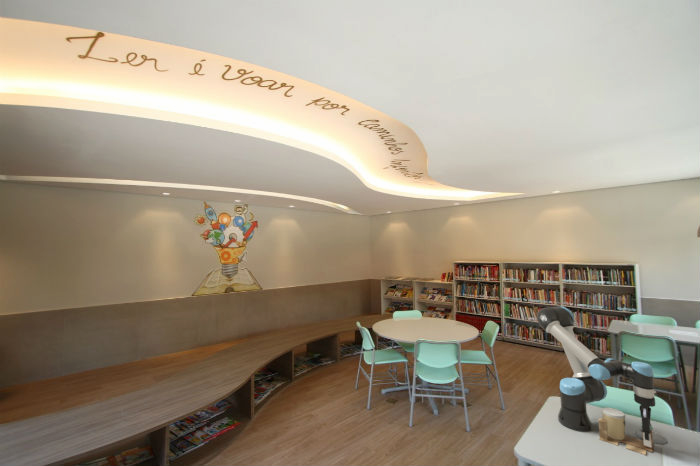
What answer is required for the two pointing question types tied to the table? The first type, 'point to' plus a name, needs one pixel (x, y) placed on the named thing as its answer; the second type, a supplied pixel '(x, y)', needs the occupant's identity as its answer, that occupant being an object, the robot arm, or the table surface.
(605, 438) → the broken strip
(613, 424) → the coffee cup
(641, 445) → the wooden l bracket
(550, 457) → the table surface
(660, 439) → the coaster
